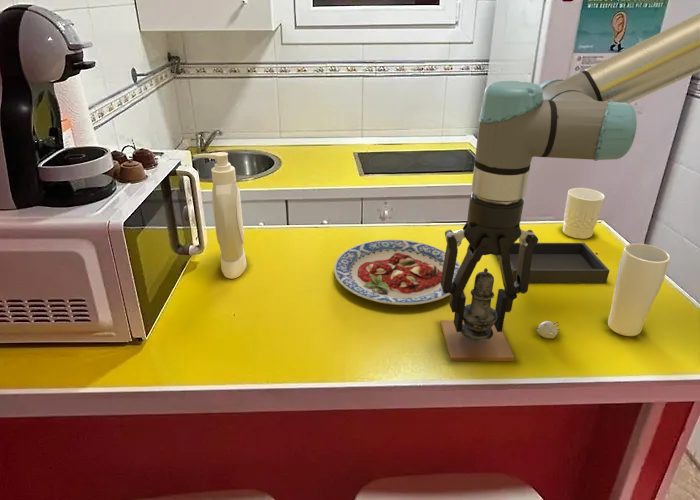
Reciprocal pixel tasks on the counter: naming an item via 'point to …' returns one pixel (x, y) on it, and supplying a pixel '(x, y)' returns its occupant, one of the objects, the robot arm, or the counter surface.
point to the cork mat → (475, 345)
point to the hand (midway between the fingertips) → (477, 326)
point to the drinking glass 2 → (636, 287)
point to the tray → (561, 264)
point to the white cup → (582, 212)
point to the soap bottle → (227, 215)
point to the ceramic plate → (393, 271)
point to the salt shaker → (480, 309)
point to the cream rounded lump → (548, 329)
